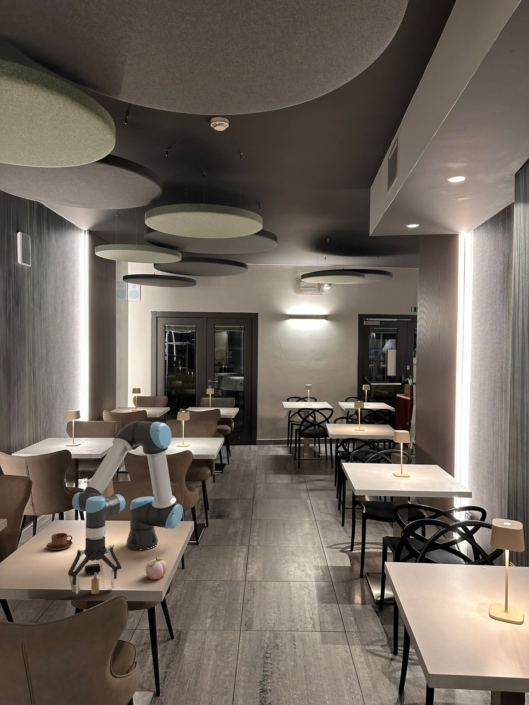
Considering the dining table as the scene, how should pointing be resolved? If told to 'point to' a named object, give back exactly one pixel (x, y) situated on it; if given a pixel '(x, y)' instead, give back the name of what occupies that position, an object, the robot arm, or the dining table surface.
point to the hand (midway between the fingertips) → (94, 589)
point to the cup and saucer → (59, 542)
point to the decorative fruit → (156, 568)
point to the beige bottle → (95, 584)
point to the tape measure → (92, 568)
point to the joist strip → (74, 585)
